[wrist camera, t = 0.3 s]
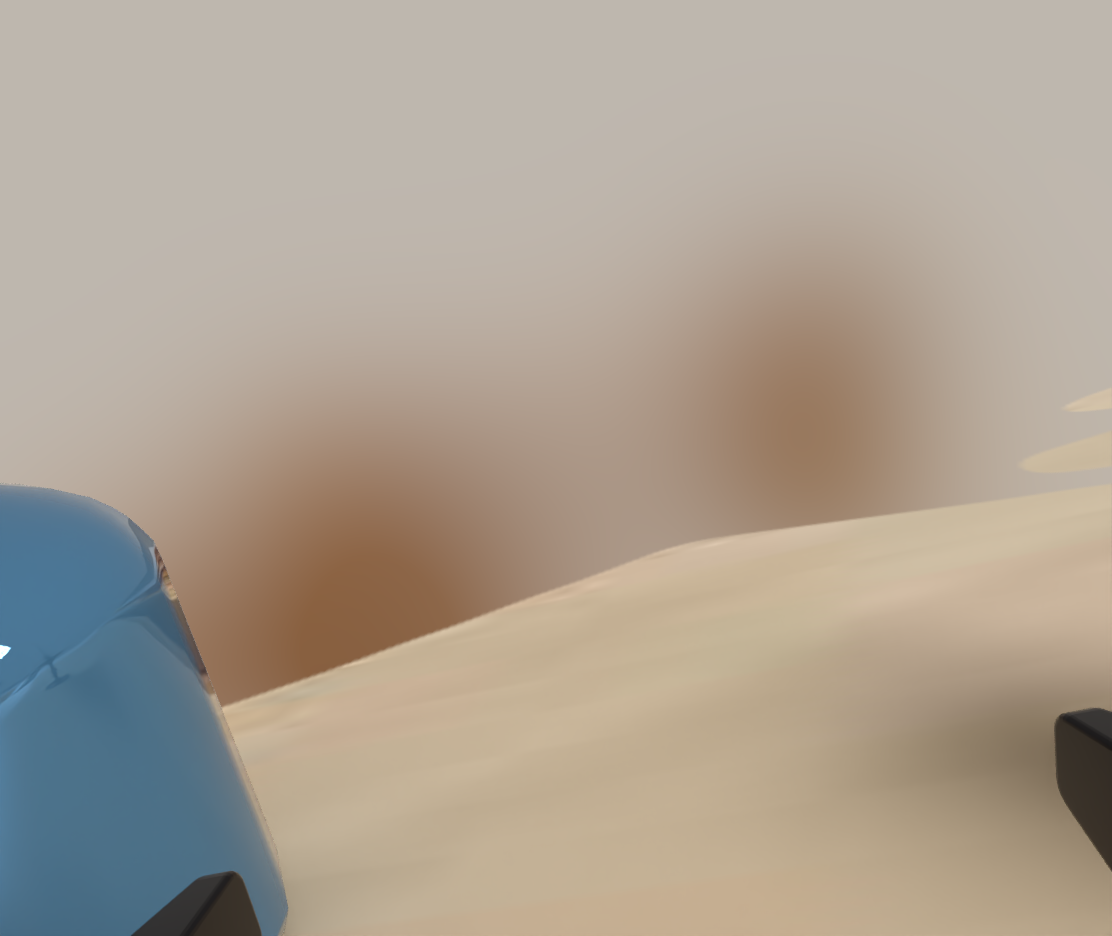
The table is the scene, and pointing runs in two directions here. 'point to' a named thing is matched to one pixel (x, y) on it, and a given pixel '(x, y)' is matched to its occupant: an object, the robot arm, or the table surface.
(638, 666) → the table surface
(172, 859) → the wine bottle
